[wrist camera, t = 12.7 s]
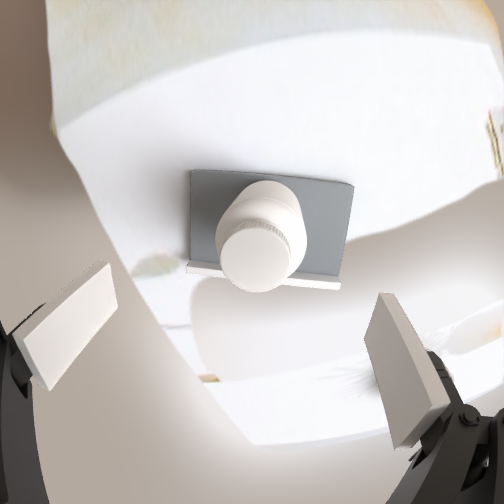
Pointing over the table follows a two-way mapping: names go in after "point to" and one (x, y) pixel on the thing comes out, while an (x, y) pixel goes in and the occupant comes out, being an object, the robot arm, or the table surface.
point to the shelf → (313, 212)
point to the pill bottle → (261, 237)
